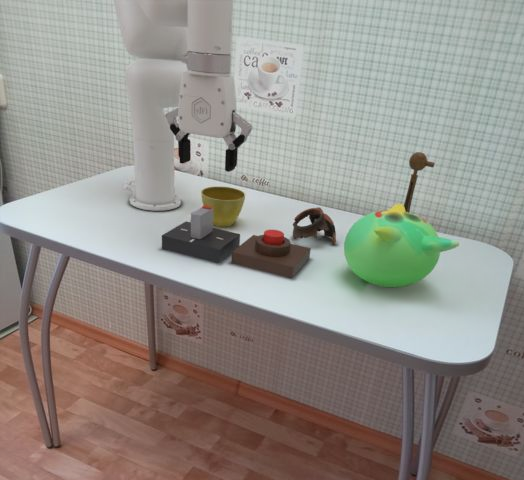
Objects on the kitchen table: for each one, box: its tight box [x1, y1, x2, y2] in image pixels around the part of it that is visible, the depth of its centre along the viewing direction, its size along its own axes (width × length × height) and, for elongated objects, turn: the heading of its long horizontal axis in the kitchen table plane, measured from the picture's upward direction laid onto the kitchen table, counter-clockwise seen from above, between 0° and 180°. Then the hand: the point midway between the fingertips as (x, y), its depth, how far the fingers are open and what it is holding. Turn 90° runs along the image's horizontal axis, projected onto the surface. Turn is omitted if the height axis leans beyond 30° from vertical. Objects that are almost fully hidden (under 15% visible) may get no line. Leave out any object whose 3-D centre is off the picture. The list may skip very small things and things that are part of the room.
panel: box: [161, 220, 241, 264], centre depth 106 cm, size 13×10×3 cm
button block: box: [230, 234, 312, 279], centre depth 103 cm, size 13×11×4 cm
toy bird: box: [343, 203, 460, 288], centre depth 97 cm, size 18×17×15 cm
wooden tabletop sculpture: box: [403, 151, 435, 213], centre depth 116 cm, size 6×5×20 cm
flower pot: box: [200, 185, 246, 228], centre depth 119 cm, size 10×10×7 cm
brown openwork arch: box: [292, 207, 337, 246], centre depth 116 cm, size 12×10×8 cm
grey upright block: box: [190, 205, 214, 239], centre depth 104 cm, size 6×2×5 cm, turn 158°
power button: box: [263, 229, 285, 245], centre depth 102 cm, size 4×4×2 cm
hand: (207, 166), depth 98 cm, fingers open, 9 cm apart
